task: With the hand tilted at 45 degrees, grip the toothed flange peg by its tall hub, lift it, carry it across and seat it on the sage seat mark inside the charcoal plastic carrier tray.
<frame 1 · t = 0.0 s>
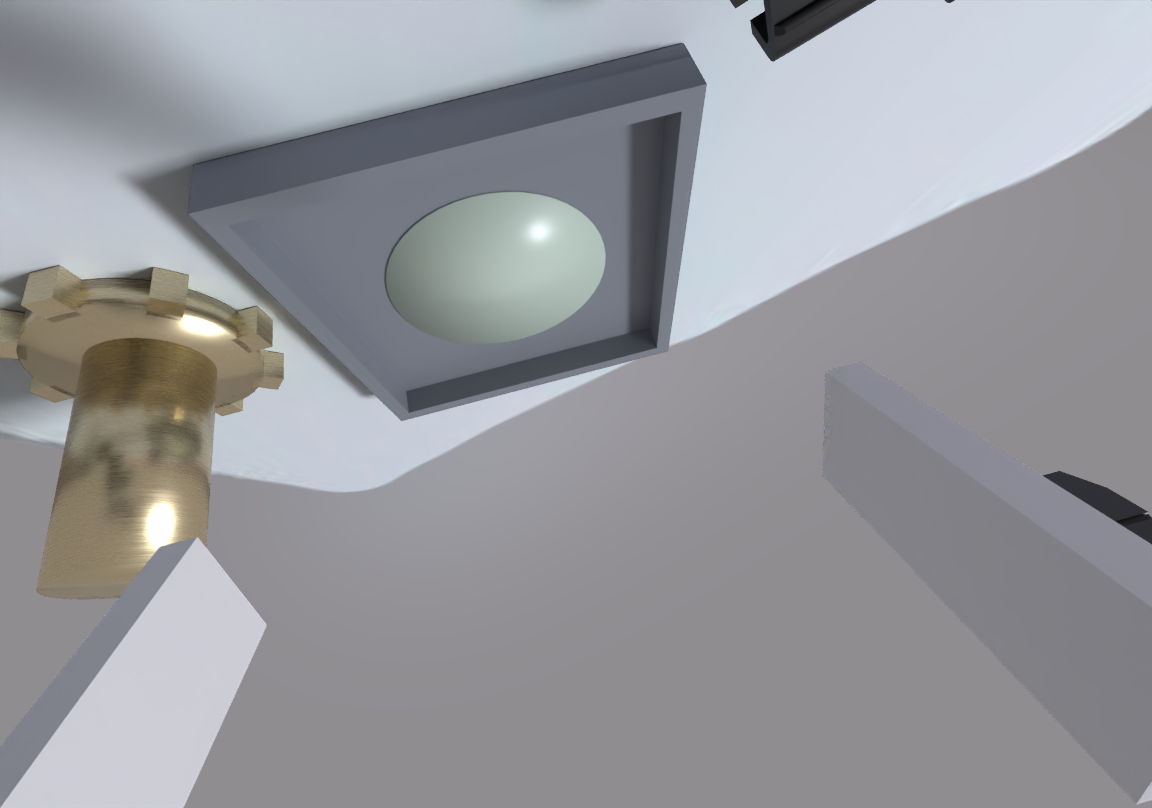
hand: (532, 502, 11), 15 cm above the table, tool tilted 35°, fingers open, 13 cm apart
toothed flange peg: (157, 340, 25), on the table
carrier tray: (497, 268, 27), on the table
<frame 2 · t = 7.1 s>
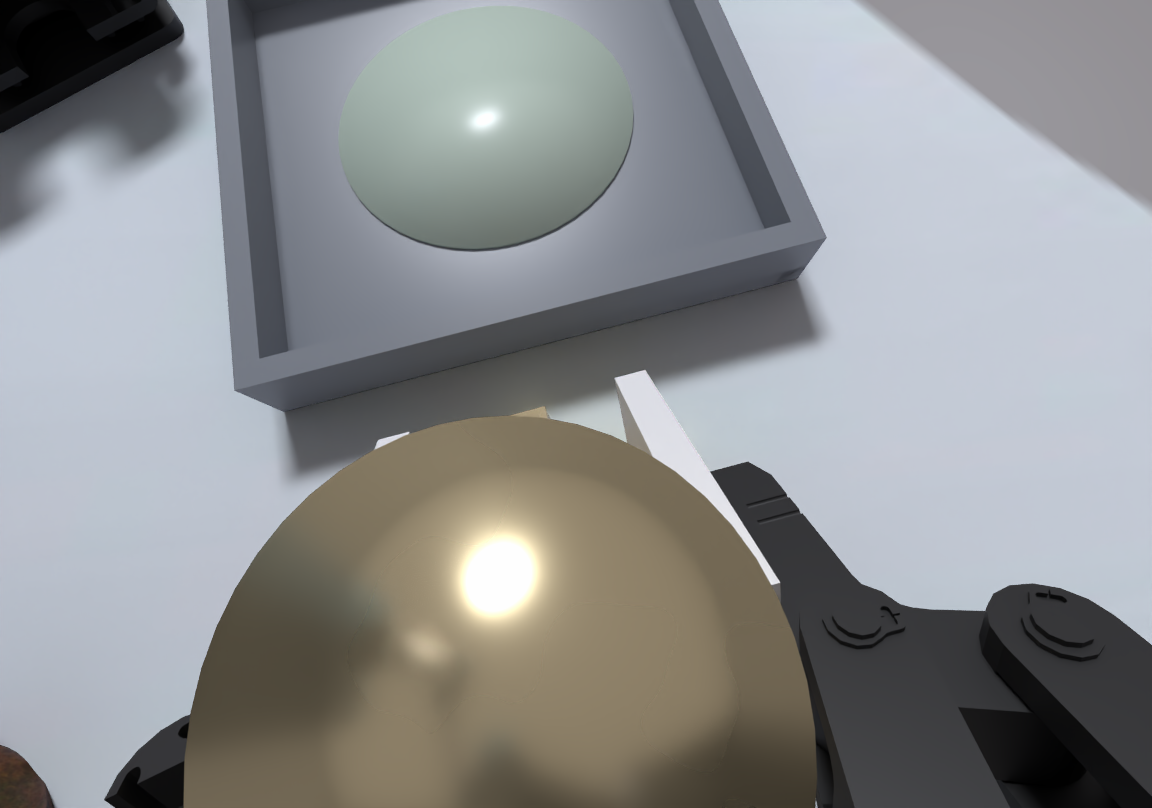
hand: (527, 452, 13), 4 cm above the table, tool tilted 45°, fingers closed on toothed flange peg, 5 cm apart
toothed flange peg: (573, 595, 15), on the table, touching gripper
end cap: (70, 40, 23), on the table
carrier tray: (489, 136, 20), on the table
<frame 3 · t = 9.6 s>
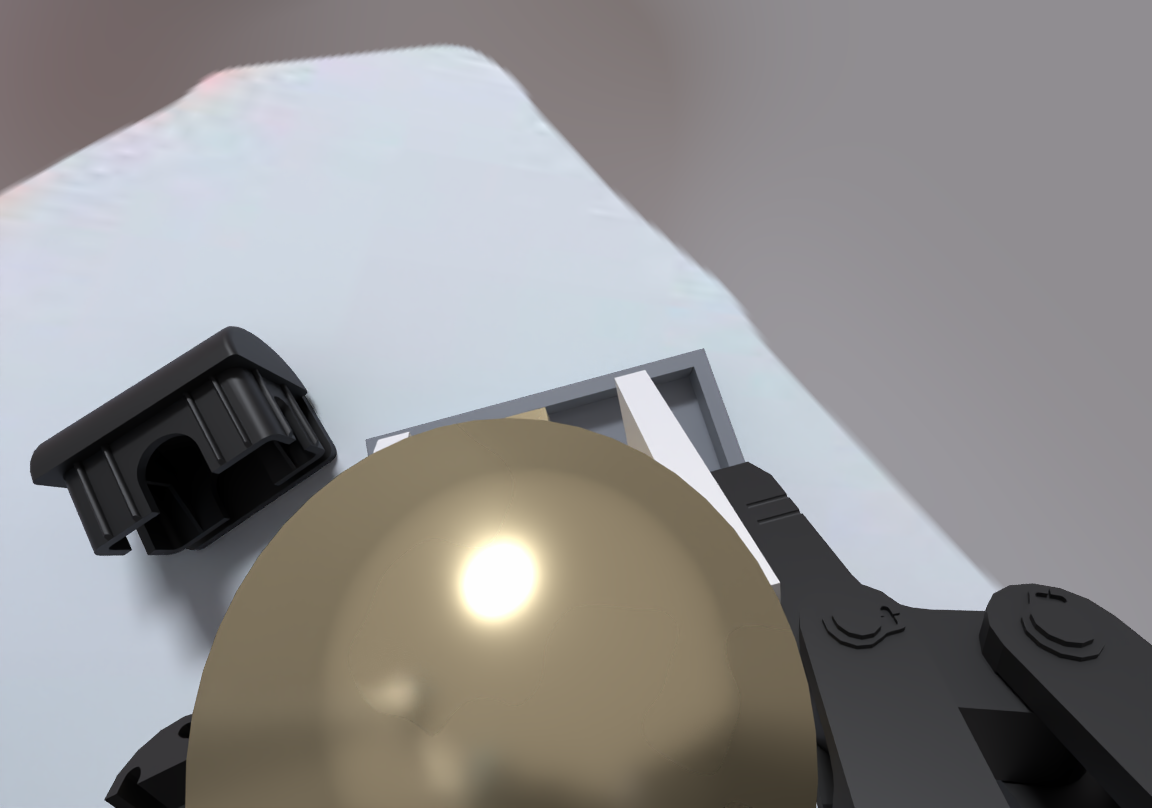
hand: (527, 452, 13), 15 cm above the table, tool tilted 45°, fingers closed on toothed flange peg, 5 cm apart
toothed flange peg: (573, 596, 15), point 11 cm above the table, touching gripper
end cap: (245, 453, 29), on the table
carrier tray: (583, 569, 26), on the table
when the fingers open (6 cm above the table, at t = 12.0 s): toothed flange peg drops 1 cm, resting on carrier tray.
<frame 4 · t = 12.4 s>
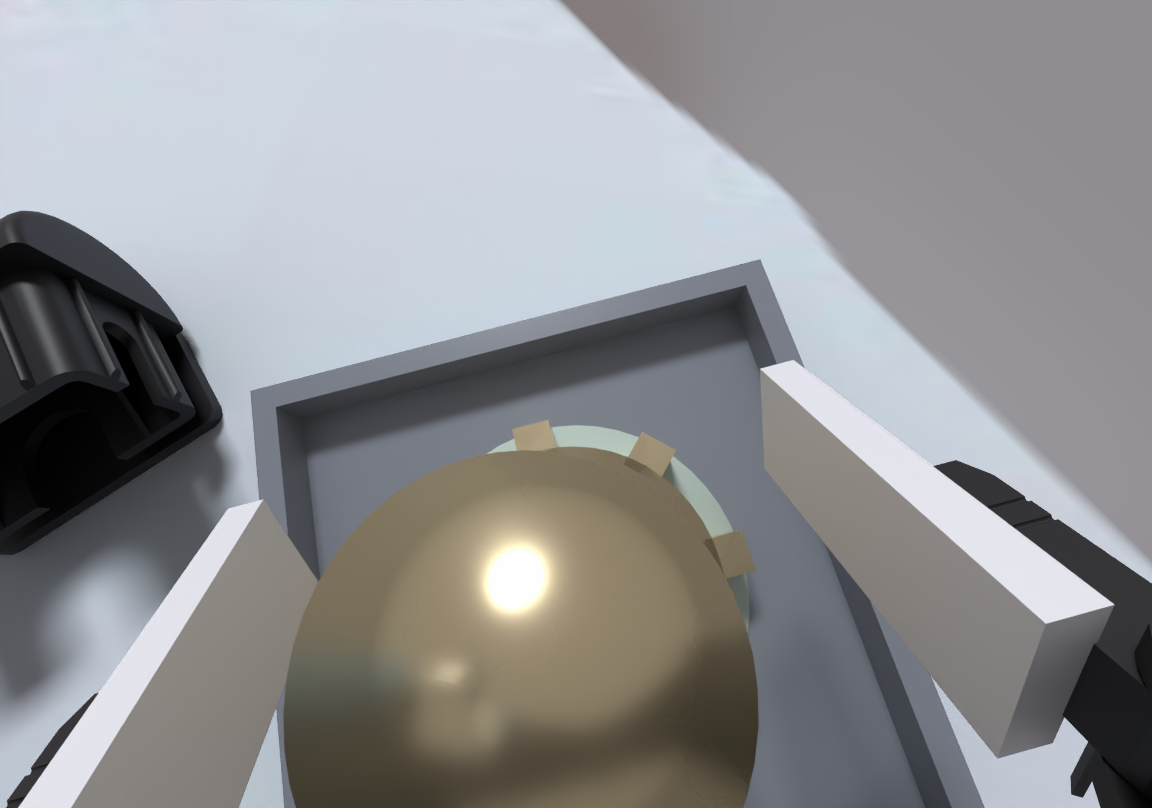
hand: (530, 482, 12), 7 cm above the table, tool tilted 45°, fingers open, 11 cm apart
toothed flange peg: (574, 593, 17), point 1 cm above the table, touching carrier tray
end cap: (94, 416, 20), on the table
carrier tray: (577, 589, 17), on the table
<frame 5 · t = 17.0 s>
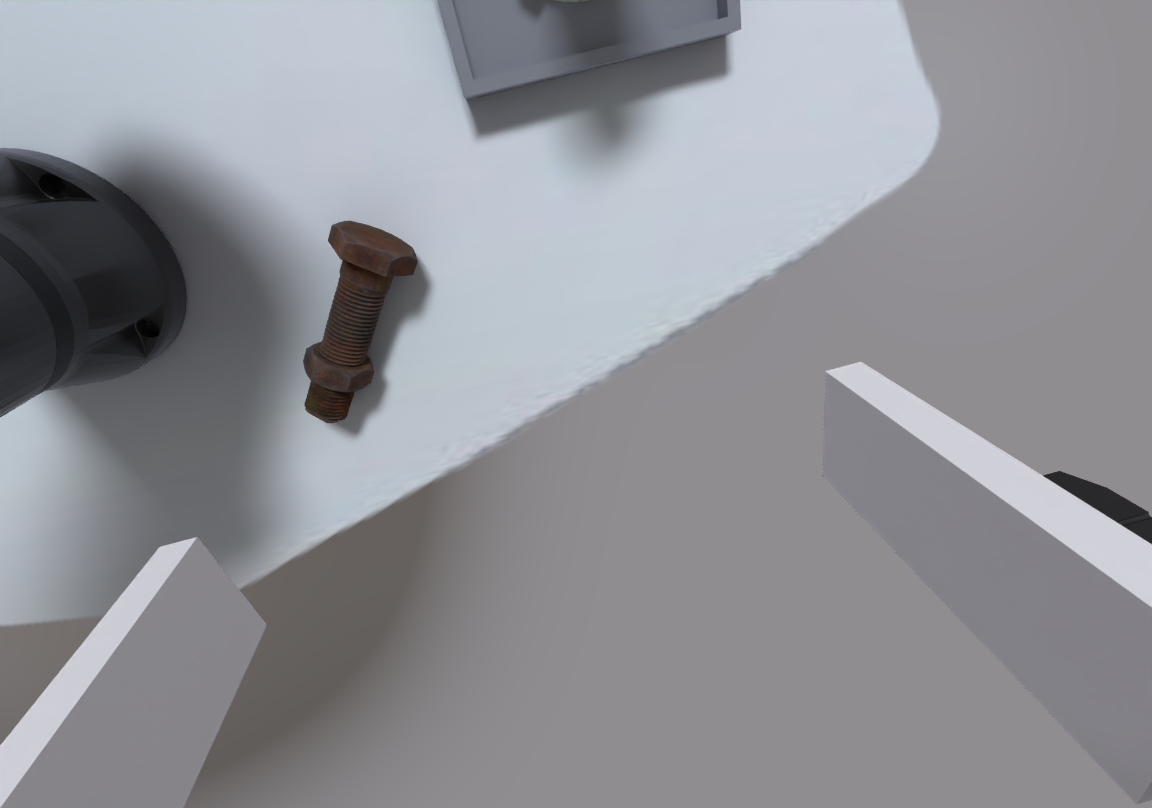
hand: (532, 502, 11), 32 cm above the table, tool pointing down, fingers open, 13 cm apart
bolt: (355, 320, 40), on the table
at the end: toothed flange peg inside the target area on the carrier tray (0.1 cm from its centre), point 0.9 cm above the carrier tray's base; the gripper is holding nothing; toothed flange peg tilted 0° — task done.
